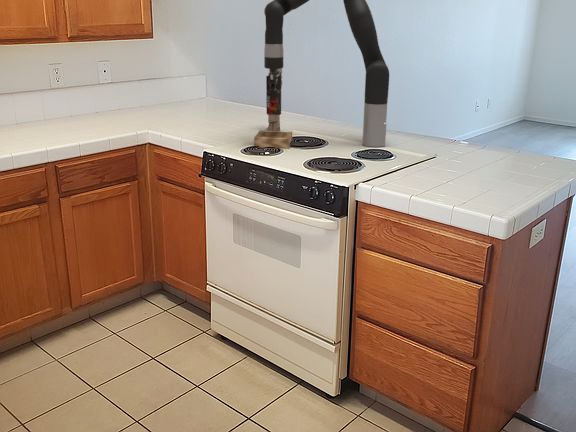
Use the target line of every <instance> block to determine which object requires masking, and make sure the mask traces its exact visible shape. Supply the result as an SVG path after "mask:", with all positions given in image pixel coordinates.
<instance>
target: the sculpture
mask: <svg viewBox="0 0 576 432" xmlns="http://www.w3.org/2000/svg"><path fill="white" fill-rule="evenodd" d="M278 71H279V76H281V89H282V86H283V80H282V79H283V68H281V69H278ZM268 72H269V73H270V69H269V70H268ZM269 73H268V74H269ZM280 115H281V114H280ZM280 115H268V117H267V118H268V122H267V123H268V125H267V129H266V131H281V120H280V119H281V117H280Z"/></svg>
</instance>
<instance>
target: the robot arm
mask: <svg viewBox="0 0 576 432" xmlns="http://www.w3.org/2000/svg"><path fill="white" fill-rule="evenodd" d="M309 1H310V0H272V1H270V2H269V3H267V4H266V6H265V8H264V16H265V31H264V50H263V51H264V53H263V54H264V56H263V57H264V59H263V60H264V66H263V67H264V68H265V69H267V70H268V69H270V73H268V75H267V76H268V77H269V90H270V100H276V85H277V79H276V77H279V71H278V69H281V68H282V69H283V68H284V33H283V32H284V31H283V27H284V16H285V15H287V14H288V13H290V12H291V11H293V10H296V9H298V8H300V7H301V6H303V5H304V4H306V3H307V2H309ZM343 4H344V9H345V14H346V17H347V21H348V24H349V27H350V30H351V32H352V35H353V36H352V37H353V38H354V40H355V43H356V45H357V47H358V49H359V50H360V52H361V56H362V59H363V64H364V69H365V79H364V80H365V83H364V84H365V85H364V105H363V123H362V124H363V127H362V141H361V142H362V145H363V146H366V147H370V148H371V147H372V148H379V147H386V141H387V140H386V138H387V137H386V136H387V115H388V113H387V112H388V102H389V101H388V99H389V86H390V71H389V67H388V65H387V64H386V61H385V59H384V56H383V54H382V52H381V49H380V45H379V39H378V33H377V29H376V28H377V27H376V25H375V20H374V18H373V15H372V11H371V9H370V7H369V4H368V2H367V0H343ZM275 79H276V82H275ZM271 85H274V86H271Z"/></svg>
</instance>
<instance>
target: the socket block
mask: <svg viewBox="0 0 576 432" xmlns="http://www.w3.org/2000/svg"><path fill="white" fill-rule="evenodd" d="M291 141H292V142H293V131H281V130H280V131H267V130H259V131H258V132H257V134H255V136H254V138H253V142H254V143H253V147H254V146H259V147H276V148H275V149H278V148H282V150H285V149H286V150H289V149H290V147H291V145H290V143H291ZM291 144H292V143H291ZM289 146H290V147H289Z"/></svg>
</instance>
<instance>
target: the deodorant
mask: <svg viewBox="0 0 576 432" xmlns="http://www.w3.org/2000/svg"><path fill="white" fill-rule="evenodd" d="M276 79H277V85H276V100H270V90H269V77H268V75H266V76H265V80H266V81H265V82H266V84H265V85H266V115H282V88H281V76H279V77H276ZM276 79H275V82H276ZM271 86H274V85H271Z"/></svg>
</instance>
